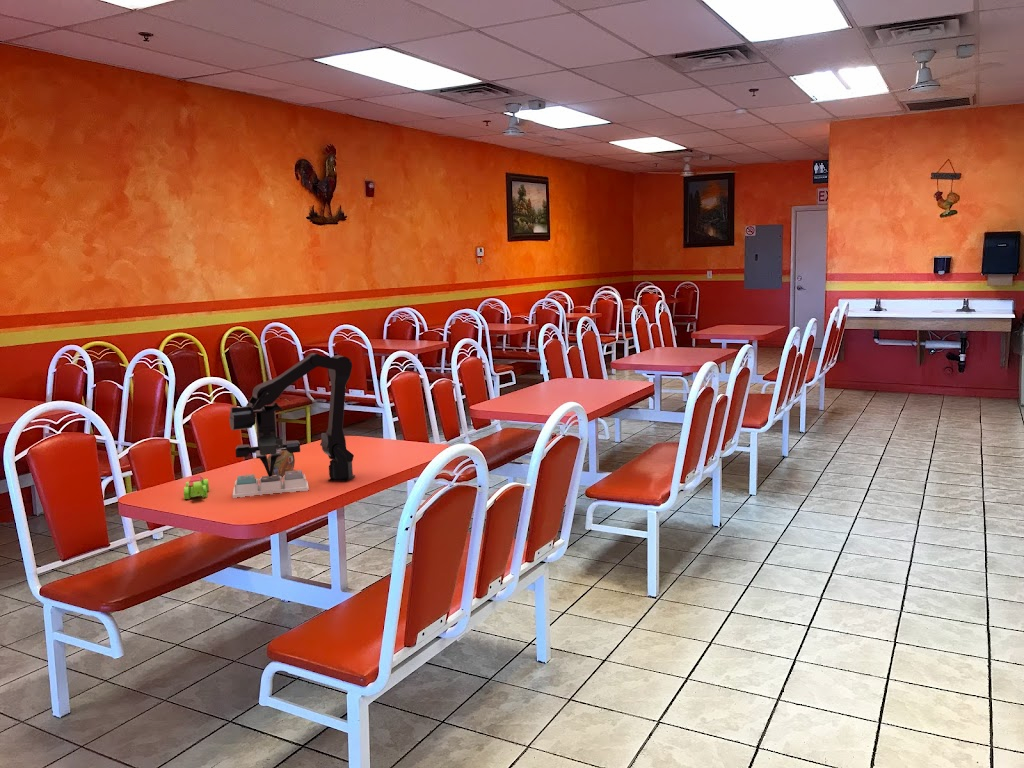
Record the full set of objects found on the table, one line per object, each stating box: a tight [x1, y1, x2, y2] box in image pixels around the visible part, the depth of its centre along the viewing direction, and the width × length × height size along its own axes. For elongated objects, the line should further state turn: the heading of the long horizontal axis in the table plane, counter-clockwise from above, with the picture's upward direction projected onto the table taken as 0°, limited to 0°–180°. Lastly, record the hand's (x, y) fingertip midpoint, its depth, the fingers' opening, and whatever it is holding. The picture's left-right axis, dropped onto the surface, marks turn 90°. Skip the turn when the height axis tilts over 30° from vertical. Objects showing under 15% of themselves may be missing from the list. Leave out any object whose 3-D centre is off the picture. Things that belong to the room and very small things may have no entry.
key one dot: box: [236, 473, 256, 485], centre depth 254 cm, size 5×5×3 cm
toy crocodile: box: [183, 474, 210, 500], centre depth 254 cm, size 20×7×6 cm, turn 17°
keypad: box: [232, 473, 310, 499], centre depth 256 cm, size 22×9×4 cm, turn 106°
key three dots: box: [261, 475, 279, 482], centre depth 256 cm, size 5×5×3 cm
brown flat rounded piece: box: [267, 450, 296, 478], centre depth 276 cm, size 15×3×8 cm, turn 168°
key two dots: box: [285, 469, 303, 480], centre depth 258 cm, size 5×5×3 cm
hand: (270, 476), depth 256 cm, fingers closed
